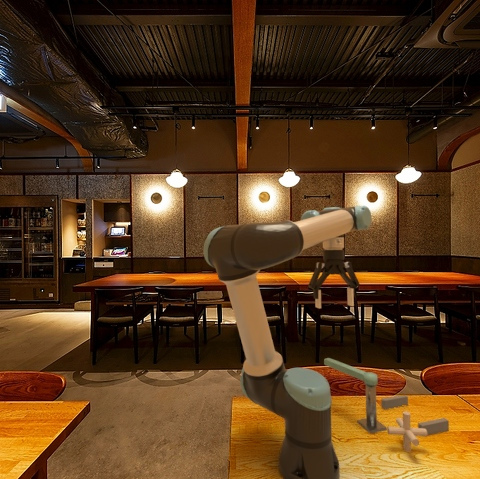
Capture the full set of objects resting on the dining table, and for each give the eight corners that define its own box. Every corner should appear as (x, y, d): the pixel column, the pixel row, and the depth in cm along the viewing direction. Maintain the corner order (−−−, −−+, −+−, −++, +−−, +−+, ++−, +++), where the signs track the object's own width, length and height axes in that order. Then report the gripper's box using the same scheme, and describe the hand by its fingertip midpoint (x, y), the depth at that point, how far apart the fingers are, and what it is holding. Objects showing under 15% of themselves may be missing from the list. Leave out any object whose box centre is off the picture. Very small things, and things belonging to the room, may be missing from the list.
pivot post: (370, 433, 90) (369, 388, 91) (357, 422, 96) (356, 380, 96) (386, 430, 92) (385, 386, 92) (373, 419, 98) (372, 378, 98)
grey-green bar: (380, 383, 94) (379, 375, 94) (372, 386, 92) (372, 378, 92) (330, 363, 111) (330, 356, 111) (322, 365, 109) (322, 358, 109)
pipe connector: (417, 439, 87) (416, 404, 88) (436, 463, 77) (435, 424, 78) (381, 437, 88) (381, 403, 88) (396, 461, 78) (395, 422, 79)
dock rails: (422, 436, 89) (422, 425, 89) (381, 407, 105) (381, 398, 105) (448, 430, 91) (448, 420, 91) (404, 403, 108) (404, 394, 108)
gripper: (308, 249, 104) (309, 310, 103) (368, 248, 110) (370, 306, 110) (298, 249, 111) (299, 306, 110) (355, 249, 118) (357, 303, 117)
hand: (334, 306), depth 110 cm, fingers open, 13 cm apart
